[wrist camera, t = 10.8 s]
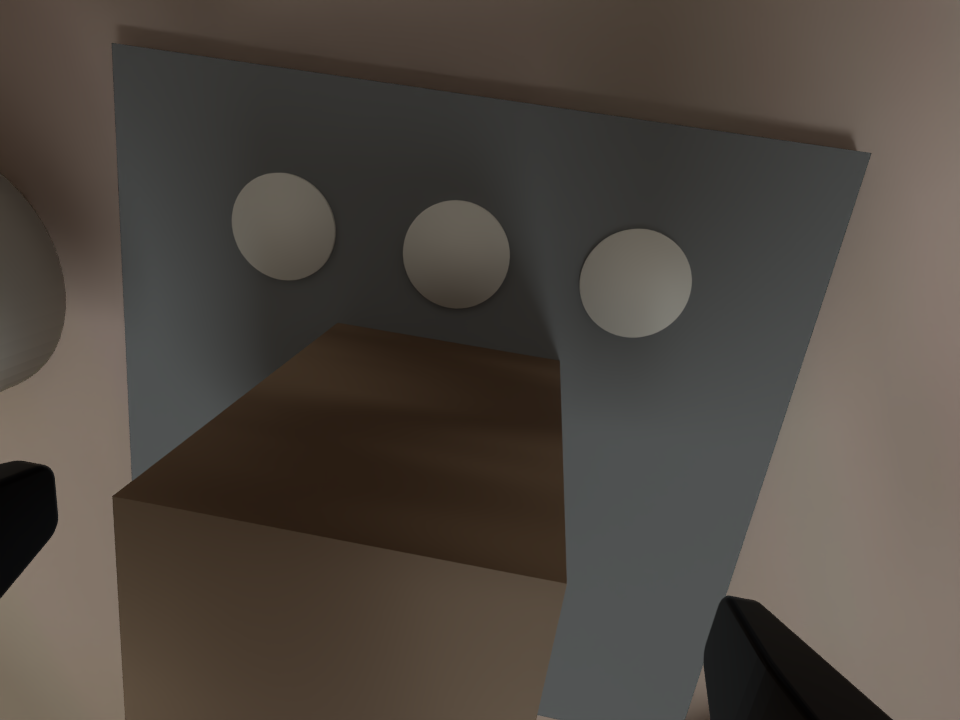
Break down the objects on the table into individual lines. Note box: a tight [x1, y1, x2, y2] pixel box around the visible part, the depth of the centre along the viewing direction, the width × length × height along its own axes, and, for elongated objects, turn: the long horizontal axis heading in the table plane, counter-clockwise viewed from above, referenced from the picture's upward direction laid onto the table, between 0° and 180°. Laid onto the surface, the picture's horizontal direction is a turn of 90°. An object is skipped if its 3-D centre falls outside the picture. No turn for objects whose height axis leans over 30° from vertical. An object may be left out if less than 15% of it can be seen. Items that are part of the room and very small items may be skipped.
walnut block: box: [112, 323, 567, 720], centre depth 9 cm, size 4×4×6 cm
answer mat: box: [112, 43, 871, 720], centre depth 12 cm, size 12×12×1 cm
